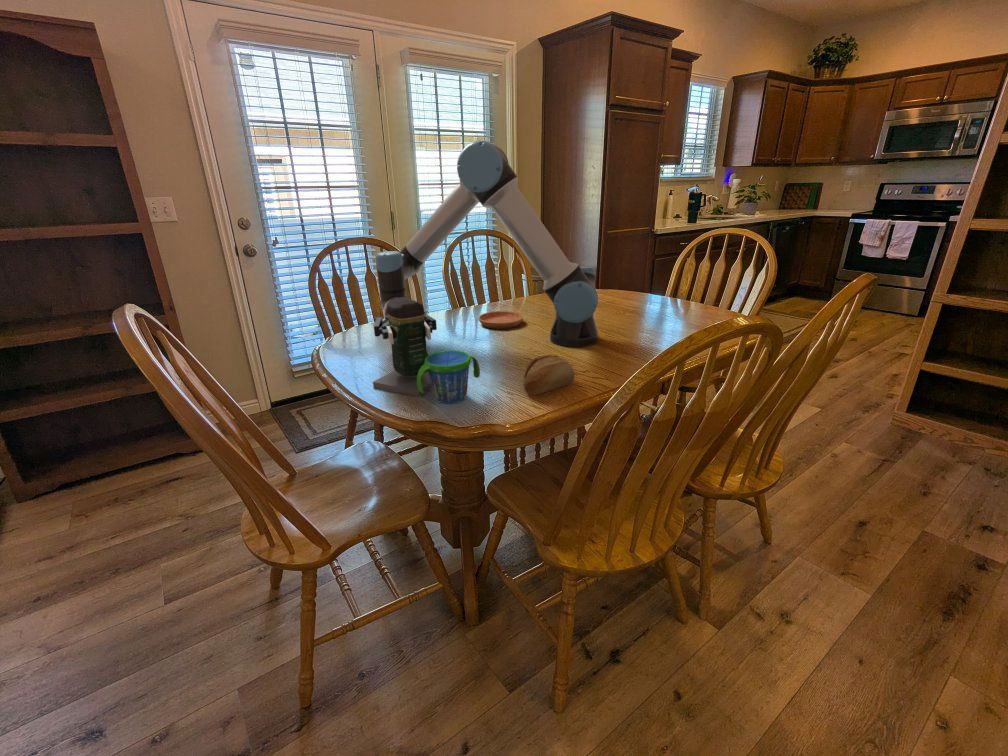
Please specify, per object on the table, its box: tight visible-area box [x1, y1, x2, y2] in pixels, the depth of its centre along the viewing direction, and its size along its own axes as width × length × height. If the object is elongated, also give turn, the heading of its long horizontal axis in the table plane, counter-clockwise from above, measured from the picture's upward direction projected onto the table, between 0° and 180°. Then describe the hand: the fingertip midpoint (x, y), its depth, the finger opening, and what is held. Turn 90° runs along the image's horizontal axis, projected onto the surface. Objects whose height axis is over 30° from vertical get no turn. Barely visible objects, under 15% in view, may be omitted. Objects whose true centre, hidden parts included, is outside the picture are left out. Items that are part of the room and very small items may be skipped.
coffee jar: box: [387, 296, 429, 376], centre depth 116 cm, size 10×8×19 cm
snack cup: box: [417, 349, 481, 404], centre depth 109 cm, size 16×10×10 cm
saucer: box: [478, 310, 524, 330], centre depth 169 cm, size 16×16×3 cm
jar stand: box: [372, 369, 433, 397], centre depth 120 cm, size 14×14×2 cm
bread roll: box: [522, 354, 575, 396], centre depth 114 cm, size 10×15×8 cm, turn 131°
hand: (410, 336), depth 111 cm, fingers closed on coffee jar, 8 cm apart
